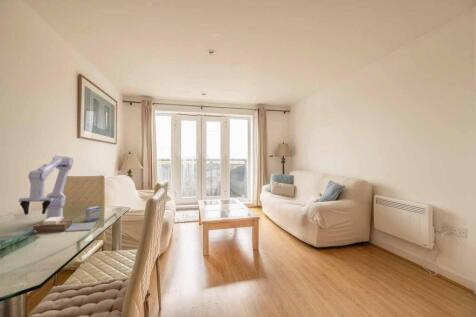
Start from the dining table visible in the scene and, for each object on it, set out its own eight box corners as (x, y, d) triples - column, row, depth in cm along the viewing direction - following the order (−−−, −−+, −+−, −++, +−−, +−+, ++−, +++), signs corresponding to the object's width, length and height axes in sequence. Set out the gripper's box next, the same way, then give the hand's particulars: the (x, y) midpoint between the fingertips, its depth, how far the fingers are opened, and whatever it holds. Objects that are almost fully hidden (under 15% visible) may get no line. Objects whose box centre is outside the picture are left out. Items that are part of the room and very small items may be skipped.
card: (49, 220, 124) (50, 217, 124) (62, 219, 127) (62, 216, 127) (43, 224, 116) (43, 221, 116) (56, 224, 118) (56, 220, 118)
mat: (72, 224, 131) (73, 223, 131) (96, 223, 136) (96, 222, 136) (64, 231, 118) (64, 230, 118) (90, 230, 123) (90, 229, 123)
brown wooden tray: (43, 226, 124) (43, 220, 124) (71, 224, 130) (71, 218, 130) (33, 233, 113) (33, 226, 113) (64, 231, 119) (65, 224, 119)
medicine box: (89, 221, 138) (90, 209, 138) (84, 220, 139) (85, 208, 139) (99, 218, 146) (100, 206, 146) (94, 217, 147) (95, 206, 147)
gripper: (16, 191, 111) (14, 216, 111) (50, 191, 117) (48, 215, 117) (23, 189, 118) (21, 213, 118) (55, 189, 124) (53, 212, 124)
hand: (35, 213), depth 118 cm, fingers open, 7 cm apart
